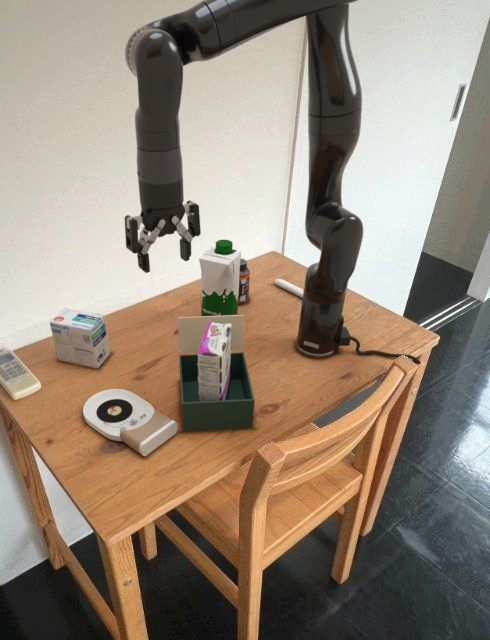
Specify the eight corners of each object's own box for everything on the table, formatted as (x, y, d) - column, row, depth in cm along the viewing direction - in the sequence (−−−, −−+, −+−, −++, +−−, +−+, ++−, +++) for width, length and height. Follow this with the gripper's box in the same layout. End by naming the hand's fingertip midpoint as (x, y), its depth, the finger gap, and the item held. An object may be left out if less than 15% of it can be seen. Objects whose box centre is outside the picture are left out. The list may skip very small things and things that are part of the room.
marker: (271, 284, 148) (272, 276, 146) (276, 282, 149) (277, 274, 147) (320, 309, 137) (321, 301, 136) (325, 306, 138) (326, 298, 137)
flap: (177, 317, 104) (177, 317, 105) (179, 352, 108) (179, 351, 109) (244, 315, 105) (244, 314, 105) (243, 349, 109) (243, 349, 109)
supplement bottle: (248, 305, 139) (251, 266, 131) (226, 305, 139) (228, 266, 132) (247, 294, 143) (250, 256, 136) (226, 294, 143) (227, 256, 136)
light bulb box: (111, 353, 122) (105, 314, 115) (98, 369, 117) (91, 329, 110) (71, 345, 125) (63, 306, 118) (57, 360, 120) (47, 321, 113)
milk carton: (241, 315, 135) (245, 242, 122) (226, 332, 129) (229, 257, 116) (211, 308, 138) (212, 236, 125) (195, 324, 132) (194, 250, 119)
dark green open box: (182, 432, 102) (181, 403, 97) (180, 382, 114) (179, 354, 109) (252, 428, 102) (254, 400, 98) (242, 379, 114) (243, 352, 110)
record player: (136, 449, 94) (70, 402, 104) (138, 461, 96) (72, 414, 106) (181, 417, 100) (114, 376, 111) (182, 429, 102) (116, 387, 113)
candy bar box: (207, 384, 112) (207, 320, 102) (230, 387, 111) (232, 322, 101) (197, 418, 104) (195, 352, 93) (221, 422, 103) (223, 355, 92)
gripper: (133, 189, 81) (141, 283, 91) (208, 172, 87) (208, 262, 97) (111, 176, 85) (122, 267, 96) (184, 162, 91) (187, 249, 102)
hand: (165, 265), depth 96 cm, fingers open, 8 cm apart
